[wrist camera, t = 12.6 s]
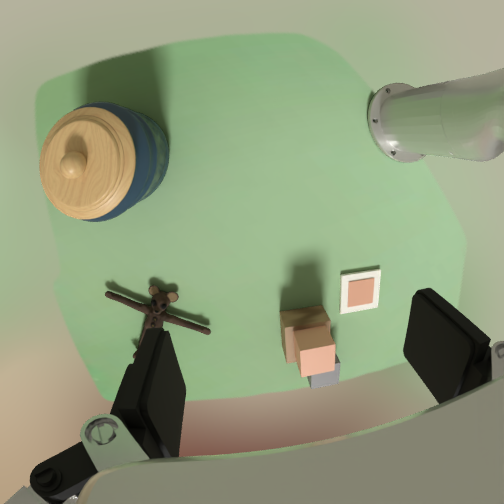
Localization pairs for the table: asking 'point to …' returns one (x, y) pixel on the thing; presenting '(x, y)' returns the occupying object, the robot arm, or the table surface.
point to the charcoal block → (325, 377)
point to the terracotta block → (314, 350)
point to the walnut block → (300, 326)
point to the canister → (102, 161)
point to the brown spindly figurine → (157, 311)
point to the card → (359, 290)
